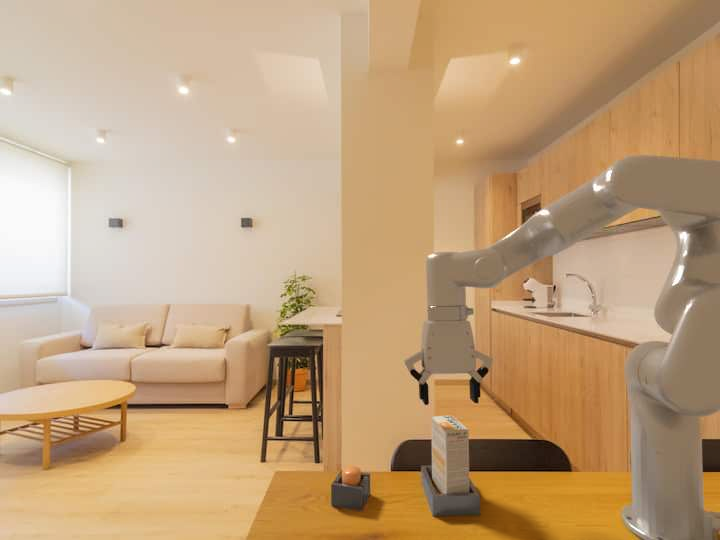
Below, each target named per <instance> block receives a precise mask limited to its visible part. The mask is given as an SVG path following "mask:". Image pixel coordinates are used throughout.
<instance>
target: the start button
mask: <svg viewBox="0 0 720 540" xmlns="http://www.w3.org/2000/svg"><path fill="white" fill-rule="evenodd" d="M341 470H342V484H347V485H353V486H359V485H360V483H361V475H360V472H361V469H360V468H359V467H357V466H352V465H351V466H346V467H344V468H342V469H341Z"/></svg>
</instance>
